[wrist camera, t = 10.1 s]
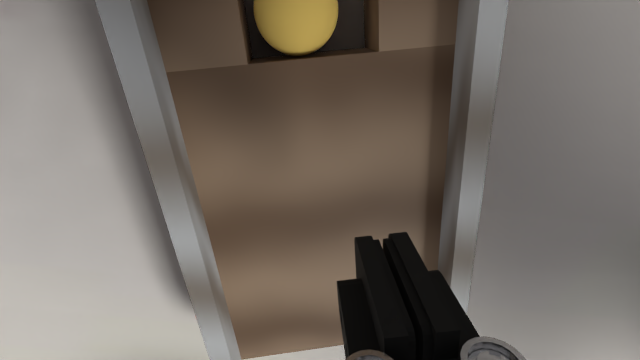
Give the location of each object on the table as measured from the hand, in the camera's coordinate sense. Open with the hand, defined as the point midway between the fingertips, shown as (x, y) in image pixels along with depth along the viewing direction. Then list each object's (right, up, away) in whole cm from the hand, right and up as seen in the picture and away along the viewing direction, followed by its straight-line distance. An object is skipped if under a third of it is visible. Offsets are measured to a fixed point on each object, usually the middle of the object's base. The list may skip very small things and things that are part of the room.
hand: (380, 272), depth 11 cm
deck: (-2, +5, +5) cm, 8 cm away
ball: (-3, +9, +2) cm, 10 cm away
